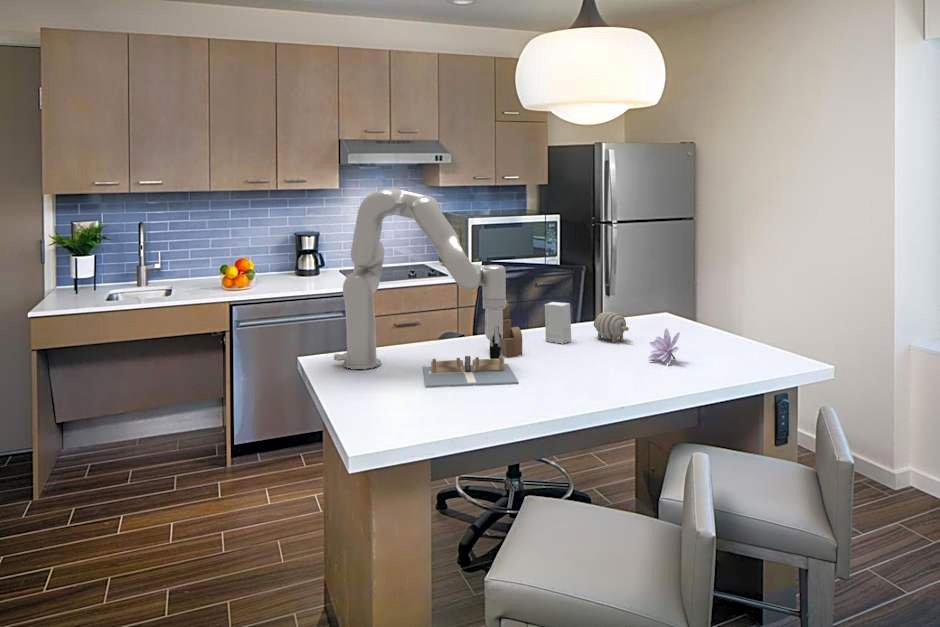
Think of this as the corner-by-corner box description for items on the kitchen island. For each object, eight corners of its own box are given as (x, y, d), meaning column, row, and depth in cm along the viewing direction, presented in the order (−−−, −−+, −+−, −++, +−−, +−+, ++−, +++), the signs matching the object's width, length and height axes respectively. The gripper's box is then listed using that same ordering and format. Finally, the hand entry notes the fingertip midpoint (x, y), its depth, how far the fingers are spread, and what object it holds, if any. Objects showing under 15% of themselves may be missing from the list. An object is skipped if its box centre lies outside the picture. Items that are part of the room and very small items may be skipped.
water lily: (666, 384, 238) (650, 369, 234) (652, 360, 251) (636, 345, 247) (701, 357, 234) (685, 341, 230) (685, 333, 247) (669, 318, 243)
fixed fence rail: (462, 370, 229) (462, 357, 228) (463, 371, 228) (462, 358, 227) (431, 371, 228) (431, 358, 227) (431, 372, 227) (431, 359, 226)
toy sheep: (602, 335, 282) (603, 307, 280) (637, 342, 269) (638, 313, 267) (584, 339, 276) (585, 310, 274) (619, 346, 263) (620, 316, 261)
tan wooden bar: (473, 371, 228) (472, 358, 227) (472, 369, 229) (472, 357, 229) (504, 369, 229) (504, 357, 228) (503, 368, 230) (503, 356, 230)
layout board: (425, 387, 214) (425, 385, 214) (423, 368, 235) (422, 366, 235) (518, 383, 216) (518, 381, 216) (507, 365, 238) (507, 363, 238)
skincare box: (571, 342, 271) (572, 303, 268) (562, 344, 267) (562, 305, 264) (553, 338, 277) (553, 300, 274) (544, 341, 272) (544, 302, 269)
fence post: (465, 374, 228) (465, 357, 227) (464, 372, 230) (464, 356, 229) (471, 374, 228) (470, 357, 227) (470, 372, 230) (470, 355, 229)
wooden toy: (523, 355, 251) (523, 284, 246) (506, 357, 248) (506, 286, 244) (504, 346, 265) (503, 279, 260) (487, 348, 262) (487, 280, 258)
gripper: (480, 299, 240) (480, 353, 243) (485, 307, 225) (486, 364, 228) (502, 299, 240) (502, 352, 244) (509, 306, 226) (509, 363, 229)
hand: (494, 358), depth 236 cm, fingers closed
